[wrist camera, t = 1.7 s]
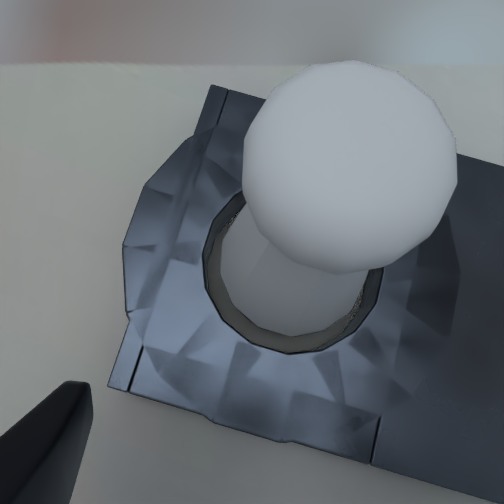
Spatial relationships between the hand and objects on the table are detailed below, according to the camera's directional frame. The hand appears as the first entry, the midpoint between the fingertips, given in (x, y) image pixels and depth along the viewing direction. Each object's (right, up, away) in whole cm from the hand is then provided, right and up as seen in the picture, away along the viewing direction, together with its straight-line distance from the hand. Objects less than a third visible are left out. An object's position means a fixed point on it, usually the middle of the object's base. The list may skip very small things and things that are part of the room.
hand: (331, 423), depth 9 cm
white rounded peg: (0, +2, +13) cm, 13 cm away
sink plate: (+6, 0, +12) cm, 14 cm away
